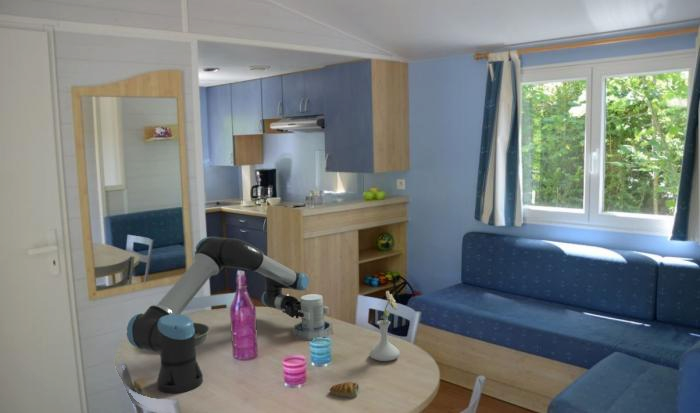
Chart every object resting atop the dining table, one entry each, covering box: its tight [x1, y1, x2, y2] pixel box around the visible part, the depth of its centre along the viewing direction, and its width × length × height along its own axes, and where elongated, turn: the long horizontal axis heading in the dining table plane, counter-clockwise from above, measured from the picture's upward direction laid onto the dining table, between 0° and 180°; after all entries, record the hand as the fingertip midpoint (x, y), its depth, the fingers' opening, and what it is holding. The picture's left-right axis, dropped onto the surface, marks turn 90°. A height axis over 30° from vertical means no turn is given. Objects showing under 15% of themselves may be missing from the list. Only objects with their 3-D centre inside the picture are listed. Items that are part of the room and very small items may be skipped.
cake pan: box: [193, 322, 211, 347], centre depth 240 cm, size 25×25×4 cm
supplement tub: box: [300, 293, 325, 332], centre depth 244 cm, size 10×10×15 cm
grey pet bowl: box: [293, 320, 334, 341], centre depth 244 cm, size 16×16×3 cm
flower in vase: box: [369, 290, 401, 362], centre depth 213 cm, size 13×11×25 cm
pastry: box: [329, 381, 360, 399], centre depth 186 cm, size 9×7×4 cm
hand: (319, 313), depth 240 cm, fingers open, 10 cm apart
